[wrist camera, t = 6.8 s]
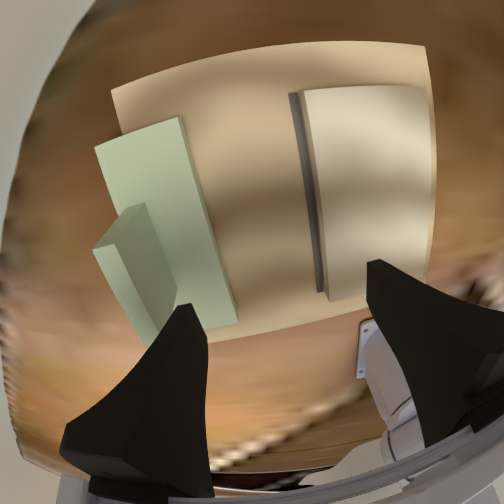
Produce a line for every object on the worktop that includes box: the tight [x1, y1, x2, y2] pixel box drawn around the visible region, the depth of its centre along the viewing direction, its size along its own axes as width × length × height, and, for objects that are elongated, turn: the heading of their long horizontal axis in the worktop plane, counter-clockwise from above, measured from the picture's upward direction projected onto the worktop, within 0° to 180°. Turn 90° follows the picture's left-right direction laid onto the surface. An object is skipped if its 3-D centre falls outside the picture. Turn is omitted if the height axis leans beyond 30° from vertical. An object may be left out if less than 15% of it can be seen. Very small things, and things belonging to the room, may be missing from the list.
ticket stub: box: [92, 116, 239, 347], centre depth 15 cm, size 14×5×6 cm, turn 12°
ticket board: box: [111, 41, 436, 343], centre depth 18 cm, size 20×20×3 cm
